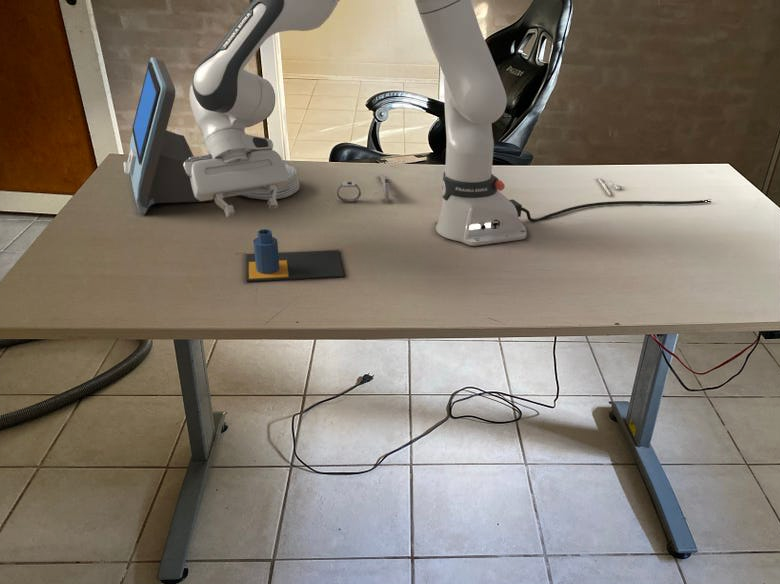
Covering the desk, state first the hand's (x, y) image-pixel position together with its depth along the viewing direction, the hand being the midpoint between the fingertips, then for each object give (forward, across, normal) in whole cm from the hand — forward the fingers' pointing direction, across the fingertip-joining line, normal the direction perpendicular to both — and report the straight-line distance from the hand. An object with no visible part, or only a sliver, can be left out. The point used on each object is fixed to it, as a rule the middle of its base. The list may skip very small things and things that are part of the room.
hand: (252, 211), depth 154 cm
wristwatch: (-8, +35, +24) cm, 43 cm away
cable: (-20, +19, +36) cm, 46 cm away
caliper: (-10, +48, +27) cm, 56 cm away
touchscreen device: (-28, -3, +45) cm, 53 cm away
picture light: (+10, +108, +7) cm, 109 cm away
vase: (+12, 0, +4) cm, 12 cm away
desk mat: (+12, +6, +4) cm, 14 cm away
